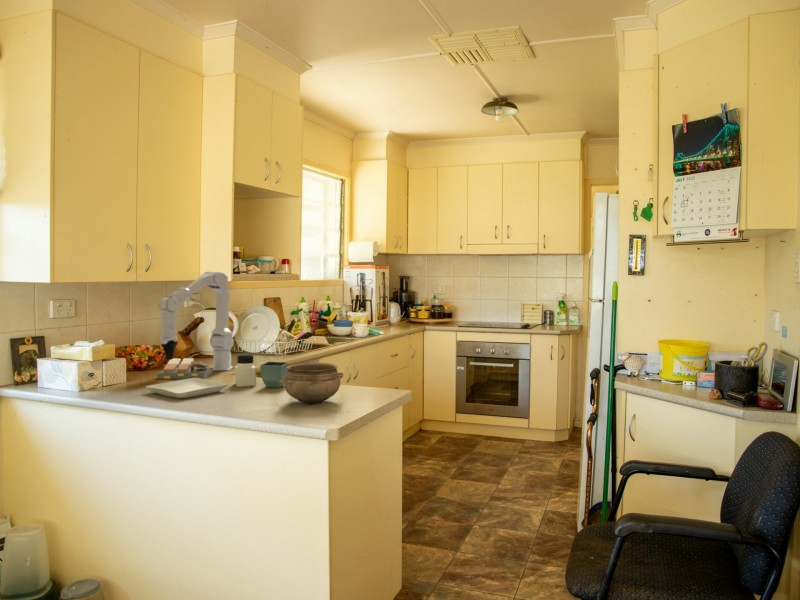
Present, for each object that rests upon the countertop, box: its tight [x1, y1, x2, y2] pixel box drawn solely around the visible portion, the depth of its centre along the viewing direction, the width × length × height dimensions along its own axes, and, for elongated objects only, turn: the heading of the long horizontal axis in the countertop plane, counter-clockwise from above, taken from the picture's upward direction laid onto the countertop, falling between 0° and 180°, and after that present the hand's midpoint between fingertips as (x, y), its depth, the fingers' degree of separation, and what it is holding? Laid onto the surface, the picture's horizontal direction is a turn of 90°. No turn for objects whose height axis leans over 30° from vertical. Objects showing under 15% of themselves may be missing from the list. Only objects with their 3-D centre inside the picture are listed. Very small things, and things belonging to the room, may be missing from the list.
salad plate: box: [145, 378, 228, 399], centre depth 228 cm, size 21×21×3 cm
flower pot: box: [259, 361, 290, 389], centre depth 240 cm, size 9×9×9 cm
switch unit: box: [156, 364, 214, 380], centre depth 263 cm, size 14×19×5 cm
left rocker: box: [163, 357, 182, 372], centre depth 262 cm, size 10×4×1 cm, turn 3°
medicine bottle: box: [234, 353, 257, 388], centre depth 243 cm, size 7×7×12 cm
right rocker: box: [191, 360, 207, 368], centre depth 263 cm, size 10×4×1 cm, turn 3°
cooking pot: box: [279, 362, 344, 405], centre depth 212 cm, size 25×19×12 cm
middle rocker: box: [177, 357, 195, 372], centre depth 263 cm, size 10×4×1 cm, turn 3°
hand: (169, 359), depth 259 cm, fingers closed
